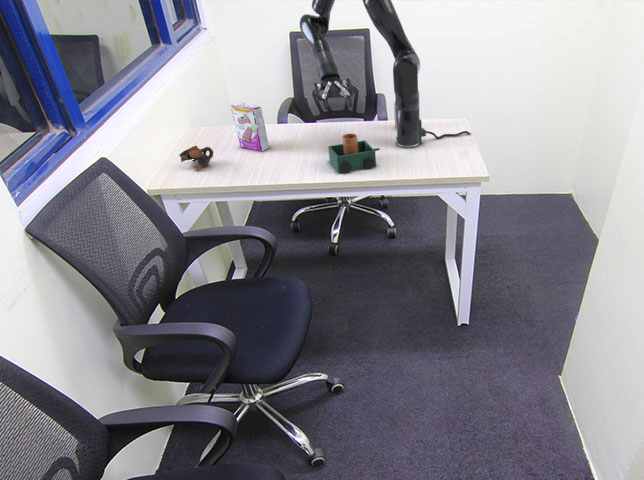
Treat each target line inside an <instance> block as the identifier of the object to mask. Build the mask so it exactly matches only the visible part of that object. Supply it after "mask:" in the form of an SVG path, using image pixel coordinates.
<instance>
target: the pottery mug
mask: <svg viewBox="0 0 644 480" xmlns="http://www.w3.org/2000/svg"><path fill="white" fill-rule="evenodd" d="M207 152H209V154H208V155H207ZM214 154H215V153H214V150H213V149H212V148H211V146H205V147H203V148H199V147H198V145H193V146H191V147H189V148H187V149H185V150H184V151H183V150H182V152H181V153H179V157H180V162H181V163H183V162H185V161H190V160H191V161H192V162H193V163H195V162H197V163H196V164H194V165H193V166H194V168H195V169H196V171H197V172H199V171H200V170H202V169H205V168H208V167H210V163H211V162H210V161H211V159H212V158H213V157H214ZM192 159H194V160H192Z"/></svg>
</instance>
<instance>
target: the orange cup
mask: <svg viewBox="0 0 644 480" xmlns="http://www.w3.org/2000/svg"><path fill="white" fill-rule="evenodd" d="M341 141H342V144H343V150H344V155H348V154H354V153H359V151H358V141H359V139H358V135H357V134H356V133H344V134H343V135H342V136H341Z"/></svg>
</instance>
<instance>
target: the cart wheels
mask: <svg viewBox="0 0 644 480" xmlns="http://www.w3.org/2000/svg"><path fill="white" fill-rule="evenodd" d="M373 149H374V150H375V152H376V151H380V150H381V148H380V147H377V148H373ZM374 165H375V161H374V160H373V159H372V158H370V157H369V158H366V159H365V161H364V166H365V167H366V168H365V169H368V170H371V169H373V168H375V167H374ZM351 168H352V167H351V164H350V163H349V162H343V163H342V164H341V166H340V169H341V171H342V172H343V173H344V174H349V173H350V172H352V171H351ZM343 173H342V174H343Z"/></svg>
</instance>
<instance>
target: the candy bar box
mask: <svg viewBox="0 0 644 480" xmlns="http://www.w3.org/2000/svg"><path fill="white" fill-rule="evenodd" d="M230 109H231V113H232V117H233V121H234V126H235V130H236V135H237V138H238V143H239V147H240V148H243V149H247V150H251V151H257V152H264V151H266V150H268V149H269V148H270V145H269V140H268V135H267V130H266V125H265V119H264V115H263V111H262V106H261V105H256V104H251V103H250V104H249V103H245V102H235V103H234V104H231V105H230Z"/></svg>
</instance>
